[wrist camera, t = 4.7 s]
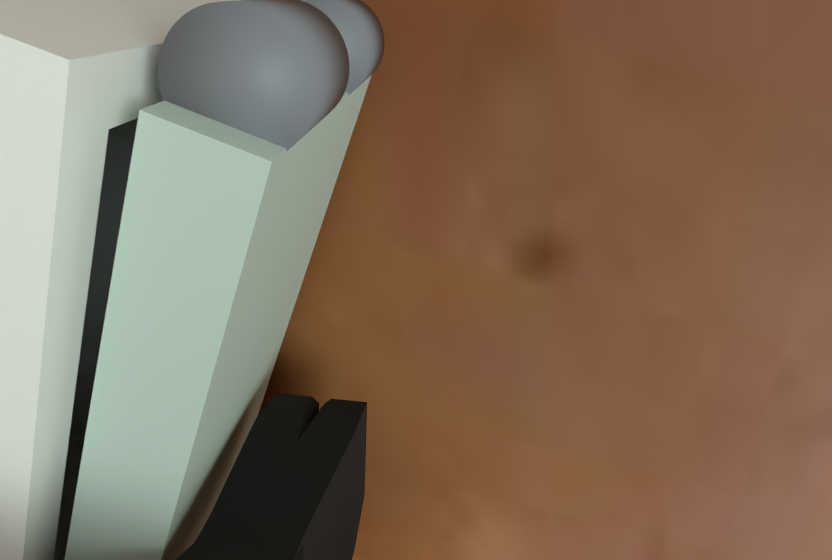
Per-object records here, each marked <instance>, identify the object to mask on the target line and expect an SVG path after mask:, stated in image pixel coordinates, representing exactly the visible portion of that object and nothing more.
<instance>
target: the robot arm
mask: <svg viewBox="0 0 832 560" xmlns="http://www.w3.org/2000/svg"><path fill="white" fill-rule="evenodd" d="M366 420H367V402H358V401H348V400H338V399H330V400H329V401H328V402H326V403H325V404H324V405H323V407H322V408H321V409H320V411H319V403H318V402H317V401H316V400H315V399H314V398H313V397H309V396H299V395H289V394H280V393H276V395H275V396H274V397H273V398H272V399H271V400H270V401H269V402H268V404H267V405H266V406H265V407H264V409H263V410H262V411H261V413H260V414H259V415H258V417H257V418H256V419H255V421H254V423H253V425H252V427H251V429H250V431H249V434H248V436H247V438H246V440H245V442H244V444H243V446H242V448H241V450H240V452H239V454H238V457H237V459H236V461H235V463H234V465H233V467H232V469H231V471H230V474H229V476H228V478H227V480H226V482H225V484H224V486H223V488H222V491H221V493H220V495H219V497H218V499H217V501H216V503H215V506H214V508H213V510H212V512H211V514H210V516H209V517H208V519H207V521H206V523H205V525H204V527H203V528H202V530H201V532H200V534H199V536H198V537H197V539H196V540H195V542H194V543H193V544H192V545H191V546H190V547H189V548H188V549H187V550H185V551H184V552H183V553H182V554H181V555H179V556H178V557H177V558H176V559H175V560H352V557H353V553H354V549H355V543H356V538H357V533H358V527H359V522H360V516H361V510H362V504H363V499H364V489H365V454H366Z"/></svg>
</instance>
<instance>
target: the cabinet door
mask: <svg viewBox="0 0 832 560" xmlns="http://www.w3.org/2000/svg"><path fill="white" fill-rule="evenodd" d="M383 52H384V34H383V30H382V27H381V24H380V22H379V20H378V18H377V16H376V15H375V13H374V12H373V11H372V10H371V9H370V8H369V7H368V6H367V5H366V4H365V3H363V2H362V1H360V0H240V1H222V2H212V3H208V4H204V5H201V6H199V7H196V8H194V9H192V10H190V11H189V12H187V13H186V14H184V15H183V16H182V17H181V18H180V19H179V20H177V21H176V23H175V24H174V25H173V26H172V28H171V29H170V30H169V32H168V34H167V35H166V37H165V39H164V42H163V44H162V47H161V51H160V55H159V60H158V83H159V89H160V93H161V97H162V100H163V101H162V102H159V103H157V104H154V105H151V106H149V107H146V108H143V109H140V110H139V115H138V121H137V127H136V133H135V139H134V145H133V151H132V157H131V163H130V169H129V175H128V181H127V187H126V193H125V199H124V205H123V211H122V217H121V223H120V229H119V235H118V242H117V248H116V254H115V260H114V266H113V272H112V278H111V284H110V290H109V296H108V302H107V308H106V314H105V320H104V326H103V332H102V338H101V344H100V350H99V356H98V362H97V368H96V374H95V380H94V386H93V392H92V398H91V404H90V410H89V416H88V422H87V428H86V434H85V440H84V446H83V452H82V458H81V464H80V470H79V476H78V482H77V488H76V494H75V500H74V506H73V512H72V518H71V524H70V530H69V536H68V542H67V548H66V554H65V560H175V559H176V558H177V557H178V556H179V555H181V554H182V553H183V552H184V551H185V550H187V549H188V548H189V547H190V546H191V545H192V544H193V543H194V542H195V540H196V539H197V537H198V536H199V534H200V532H201V530H202V528H203V527H204V525H205V523H206V521H207V519H208V517H209V516H210V514H211V512H212V510H213V508H214V506H215V503H216V501H217V499H218V497H219V495H220V493H221V491H222V488H223V486H224V484H225V482H226V480H227V478H228V476H229V474H230V471H231V469H232V467H233V465H234V463H235V461H236V459H237V457H238V454H239V452H240V450H241V448H242V446H243V444H244V442H245V440H246V438H247V436H248V434H249V431H250V429H251V427H252V425H253V423H254V421H255V419H256V418H257V416H258V413H259V410H260V407H261V404H262V401H263V398H264V395H265V392H266V389H267V386H268V383H269V380H270V377H271V374H272V371H273V368H274V365H275V362H276V359H277V356H278V353H279V350H280V347H281V344H282V341H283V338H284V335H285V332H286V329H287V326H288V323H289V320H290V317H291V314H292V311H293V308H294V305H295V302H296V299H297V296H298V293H299V290H300V288H301V285H302V282H303V279H304V276H305V273H306V270H307V267H308V264H309V261H310V258H311V255H312V252H313V249H314V246H315V243H316V240H317V237H318V234H319V231H320V228H321V225H322V222H323V219H324V216H325V213H326V210H327V207H328V204H329V201H330V198H331V195H332V192H333V189H334V186H335V183H336V180H337V177H338V174H339V171H340V168H341V165H342V162H343V159H344V156H345V153H346V150H347V147H348V144H349V141H350V138H351V135H352V132H353V129H354V126H355V123H356V120H357V117H358V114H359V111H360V108H361V105H362V102H363V99H364V96H365V93H366V90H367V87H368V84H369V81H370V78H371V75H372V74H373V73H374V72H375V70H376V69H377V67H378V66H379V64H380V62H381V59H382V56H383Z"/></svg>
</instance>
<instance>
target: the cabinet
mask: <svg viewBox="0 0 832 560" xmlns="http://www.w3.org/2000/svg"><path fill="white" fill-rule="evenodd" d="M222 1H240V0H0V560H65V554H66V548H67V542H68V536H69V530H70V524H71V518H72V512H73V506H74V500H75V494H76V488H77V482H78V476H79V470H80V464H81V458H82V452H83V446H84V440H85V434H86V428H87V422H88V416H89V410H90V404H91V398H92V392H93V386H94V380H95V374H96V368H97V362H98V356H99V350H100V344H101V338H102V332H103V326H104V320H105V314H106V308H107V302H108V296H109V290H110V284H111V278H112V272H113V266H114V260H115V254H116V248H117V242H118V235H119V229H120V223H121V217H122V211H123V205H124V199H125V193H126V187H127V181H128V175H129V169H130V163H131V157H132V151H133V145H134V139H135V133H136V127H137V121H138V115H139V110H140V109H143V108H146V107H149V106H151V105H154V104H157V103H159V102H162V101H163V100H162V97H161V93H160V89H159V83H158V60H159V55H160V51H161V47H162V44H163V42H164V39H165V37H166V35H167V34H168V32H169V30H170V29H171V28H172V26H173V25H174V24H175V23H176V21H177V20H179V19H180V18H181V17H182V16H183V15H184V14H186V13H187V12H189V11H190V10H192V9H194V8H196V7H199V6H201V5H204V4H208V3H212V2H222Z"/></svg>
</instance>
